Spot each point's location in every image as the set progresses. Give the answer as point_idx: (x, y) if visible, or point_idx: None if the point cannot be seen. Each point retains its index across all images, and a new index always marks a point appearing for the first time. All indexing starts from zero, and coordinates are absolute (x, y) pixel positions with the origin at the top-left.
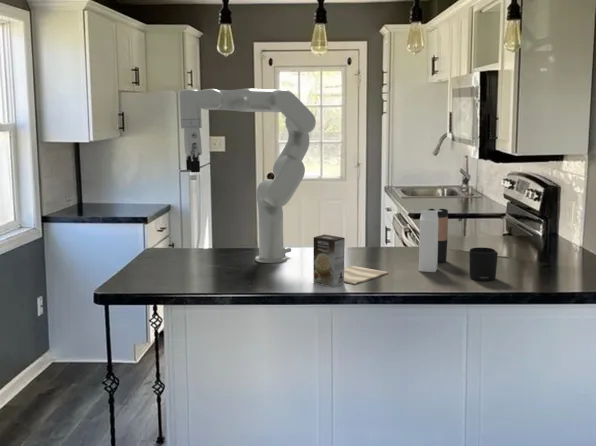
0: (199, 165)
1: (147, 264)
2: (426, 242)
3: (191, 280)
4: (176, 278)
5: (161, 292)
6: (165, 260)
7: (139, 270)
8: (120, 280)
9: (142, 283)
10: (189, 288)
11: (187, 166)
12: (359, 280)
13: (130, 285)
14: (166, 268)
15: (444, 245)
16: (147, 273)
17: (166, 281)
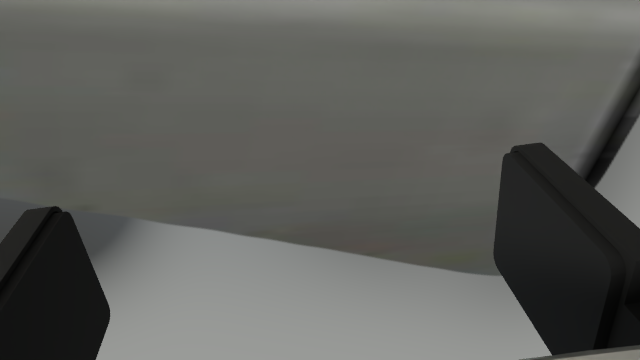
0: (600, 201)
1: (182, 177)
2: None
3: (489, 22)
4: (438, 76)
5: (597, 124)
6: (113, 114)
7: (277, 198)
8: (400, 240)
9: (462, 180)
10: (596, 35)
11: (91, 353)
12: None
13: (472, 211)
14: (266, 110)
15: None
16: (330, 171)
17: (467, 110)
